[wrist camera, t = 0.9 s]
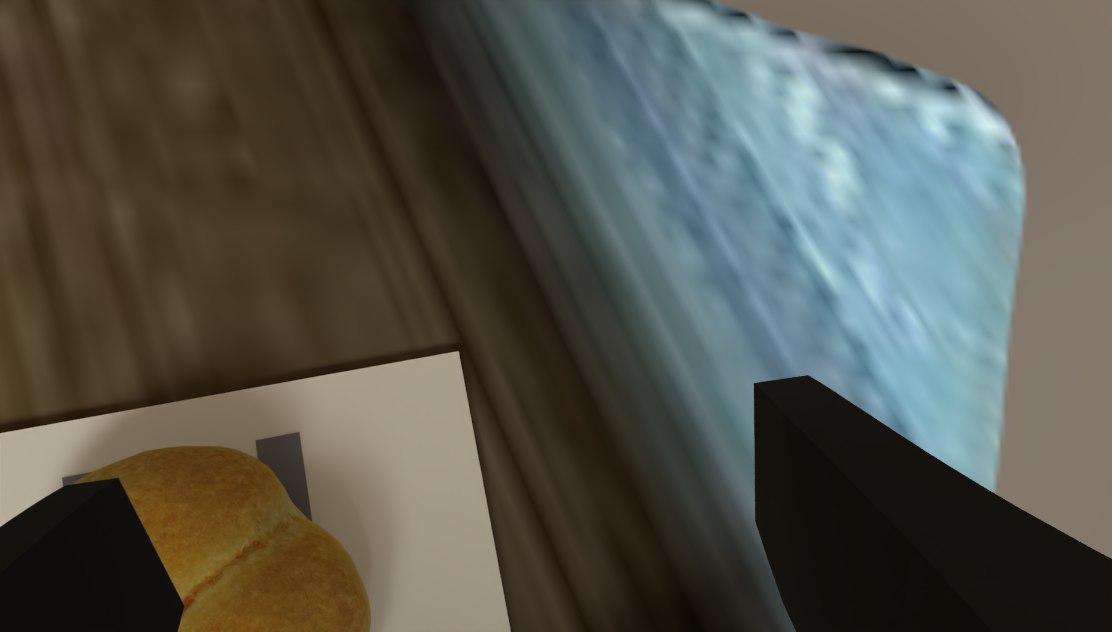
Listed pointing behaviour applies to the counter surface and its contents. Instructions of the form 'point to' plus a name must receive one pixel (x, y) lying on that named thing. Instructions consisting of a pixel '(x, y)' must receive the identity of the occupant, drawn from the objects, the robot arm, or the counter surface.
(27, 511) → the robot arm
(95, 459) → the letter board
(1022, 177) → the counter surface
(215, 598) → the bread roll
